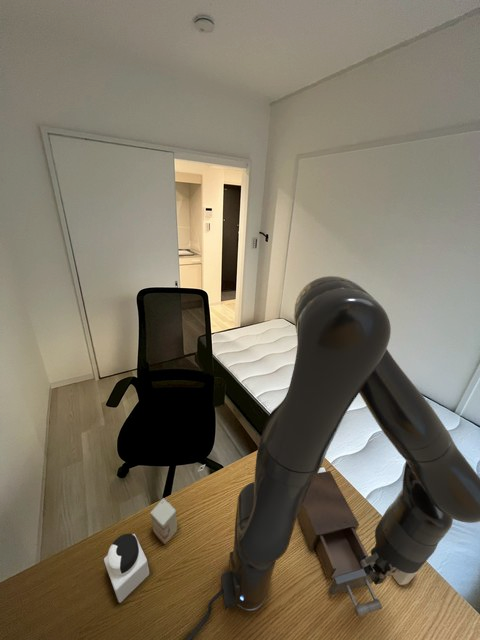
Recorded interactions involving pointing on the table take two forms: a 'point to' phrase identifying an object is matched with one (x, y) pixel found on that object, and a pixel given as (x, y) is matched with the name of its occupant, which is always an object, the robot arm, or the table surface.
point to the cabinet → (324, 510)
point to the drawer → (345, 566)
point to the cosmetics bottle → (164, 520)
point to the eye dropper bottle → (403, 577)
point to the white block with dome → (126, 565)
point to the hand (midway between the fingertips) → (374, 577)
